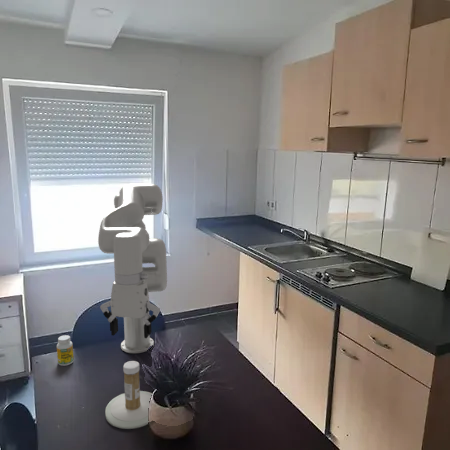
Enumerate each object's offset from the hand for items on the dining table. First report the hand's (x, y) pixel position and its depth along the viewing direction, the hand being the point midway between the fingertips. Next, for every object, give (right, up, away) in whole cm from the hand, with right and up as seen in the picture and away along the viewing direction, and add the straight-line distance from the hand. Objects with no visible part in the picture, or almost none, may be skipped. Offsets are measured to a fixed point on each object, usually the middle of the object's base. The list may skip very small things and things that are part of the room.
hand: (131, 334), depth 116 cm
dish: (0, -24, +5) cm, 24 cm away
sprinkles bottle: (0, -22, +4) cm, 23 cm away
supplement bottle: (-31, -18, +31) cm, 47 cm away
